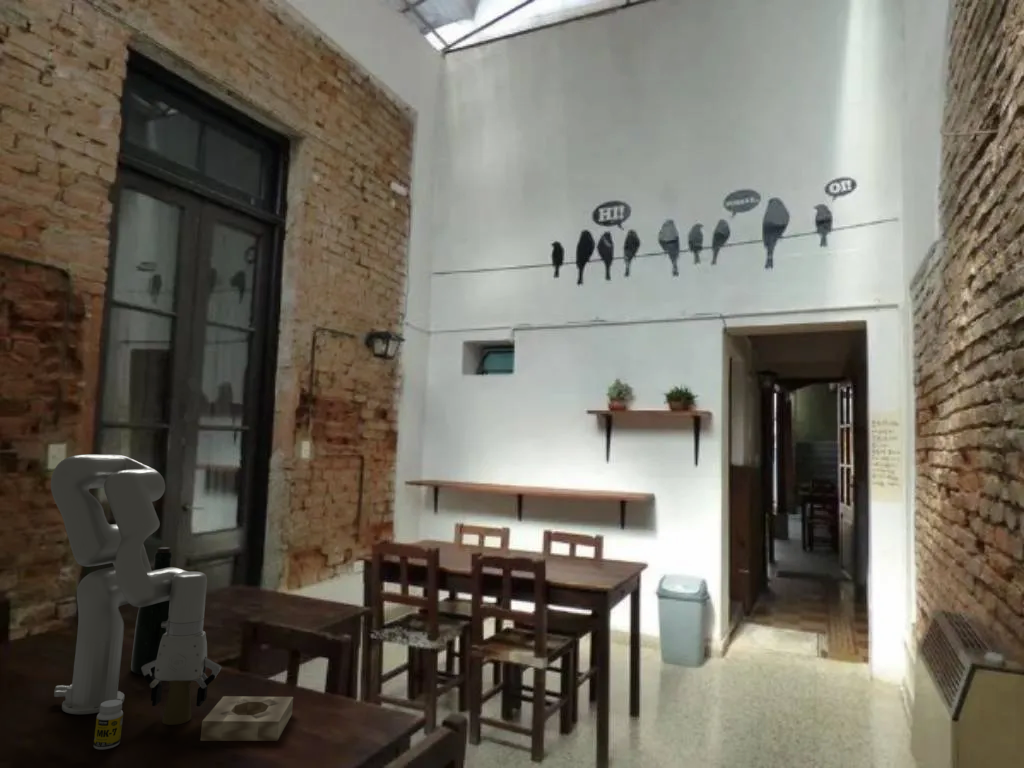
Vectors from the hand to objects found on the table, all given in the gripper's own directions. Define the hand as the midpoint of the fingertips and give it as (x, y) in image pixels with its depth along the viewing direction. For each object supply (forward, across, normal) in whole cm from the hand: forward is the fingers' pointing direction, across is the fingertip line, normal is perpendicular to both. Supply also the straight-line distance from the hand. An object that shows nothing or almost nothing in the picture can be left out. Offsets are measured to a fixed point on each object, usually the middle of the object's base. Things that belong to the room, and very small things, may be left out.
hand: (178, 704), depth 151 cm
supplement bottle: (+4, -9, -13) cm, 16 cm away
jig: (+3, +17, -4) cm, 18 cm away
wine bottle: (+4, -19, +33) cm, 38 cm away
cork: (+4, 0, 0) cm, 4 cm away
